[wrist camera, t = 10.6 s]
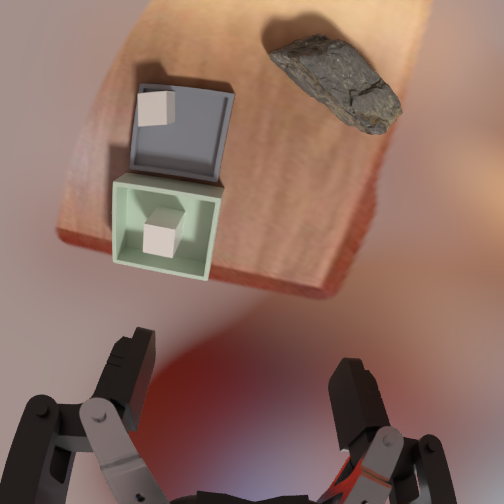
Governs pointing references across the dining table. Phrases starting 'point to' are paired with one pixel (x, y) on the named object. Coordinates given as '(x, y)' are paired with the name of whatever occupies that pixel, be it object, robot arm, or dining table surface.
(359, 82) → the rock
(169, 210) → the off-white rectangular block
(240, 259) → the dining table surface
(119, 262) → the green bin
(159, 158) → the slate tray
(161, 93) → the smooth off-white cube
